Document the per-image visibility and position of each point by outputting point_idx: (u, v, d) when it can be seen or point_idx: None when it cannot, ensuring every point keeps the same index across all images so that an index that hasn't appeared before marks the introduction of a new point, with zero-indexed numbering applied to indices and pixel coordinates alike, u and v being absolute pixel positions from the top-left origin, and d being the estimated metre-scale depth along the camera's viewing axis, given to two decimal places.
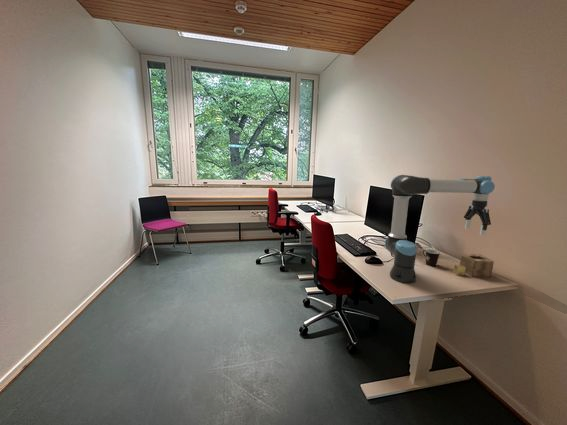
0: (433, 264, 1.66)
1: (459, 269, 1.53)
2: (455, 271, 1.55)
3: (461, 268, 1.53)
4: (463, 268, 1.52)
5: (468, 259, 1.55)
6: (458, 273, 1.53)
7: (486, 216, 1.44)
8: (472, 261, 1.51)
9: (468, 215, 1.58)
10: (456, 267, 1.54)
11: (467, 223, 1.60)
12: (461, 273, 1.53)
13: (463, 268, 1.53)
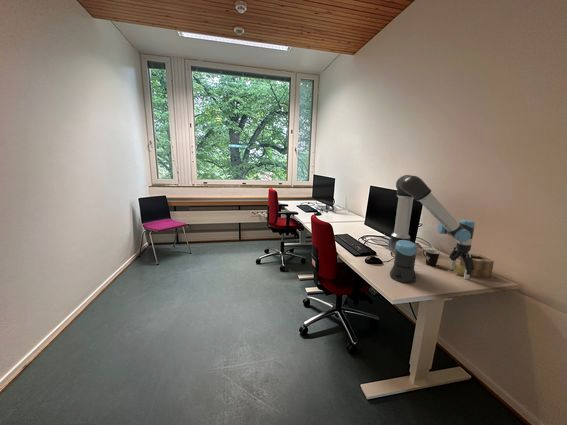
0: (433, 264, 1.66)
1: (459, 269, 1.53)
2: (455, 271, 1.55)
3: (461, 268, 1.53)
4: (463, 268, 1.52)
5: None
6: (458, 273, 1.53)
7: (469, 261, 1.45)
8: None
9: (453, 256, 1.59)
10: (456, 267, 1.54)
11: (452, 264, 1.60)
12: (461, 273, 1.53)
13: (463, 268, 1.53)
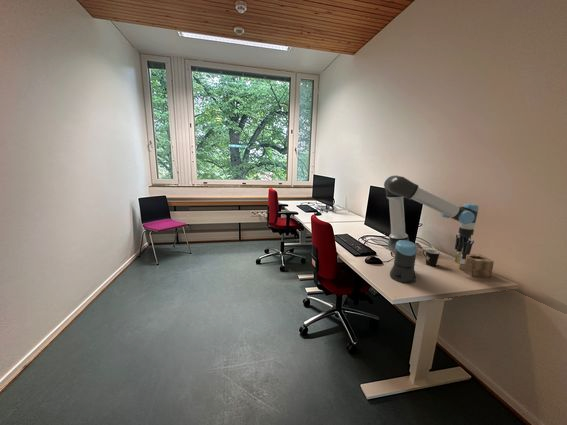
0: (433, 264, 1.66)
1: None
2: (456, 260, 1.53)
3: None
4: None
5: (468, 259, 1.55)
6: None
7: (468, 247, 1.46)
8: (472, 261, 1.51)
9: (458, 245, 1.54)
10: (458, 256, 1.52)
11: None
12: None
13: None
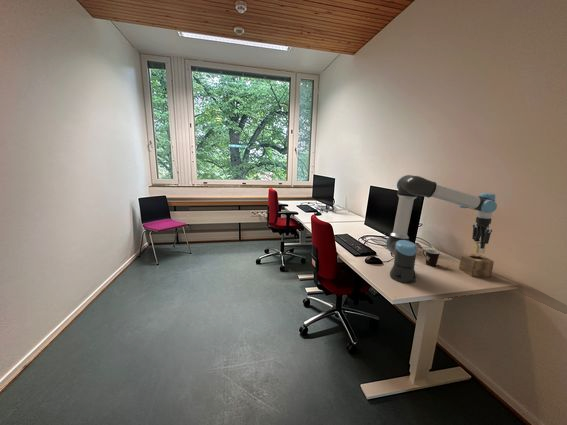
0: (433, 264, 1.66)
1: None
2: (475, 249, 1.54)
3: None
4: None
5: (468, 259, 1.55)
6: None
7: (486, 236, 1.46)
8: (472, 261, 1.51)
9: (475, 235, 1.55)
10: (476, 245, 1.53)
11: None
12: None
13: None
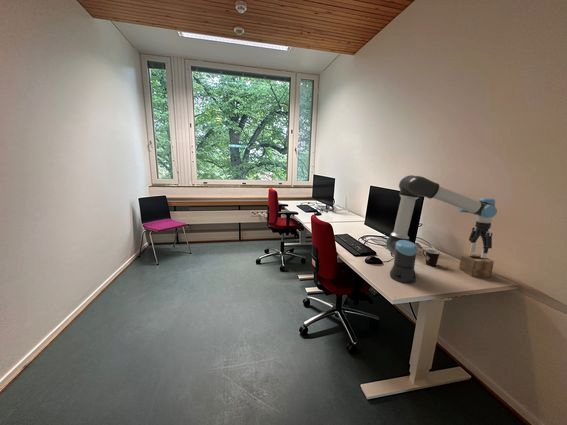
0: (433, 264, 1.66)
1: None
2: None
3: None
4: None
5: (468, 259, 1.55)
6: None
7: (488, 240, 1.45)
8: (472, 261, 1.51)
9: (473, 237, 1.57)
10: None
11: (472, 246, 1.58)
12: None
13: None
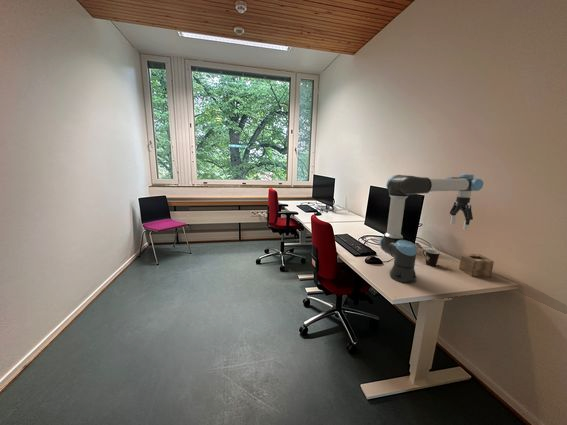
0: (433, 264, 1.66)
1: None
2: None
3: None
4: None
5: (468, 259, 1.55)
6: None
7: (468, 211, 1.54)
8: (472, 261, 1.51)
9: (453, 211, 1.69)
10: None
11: (452, 218, 1.70)
12: None
13: None
